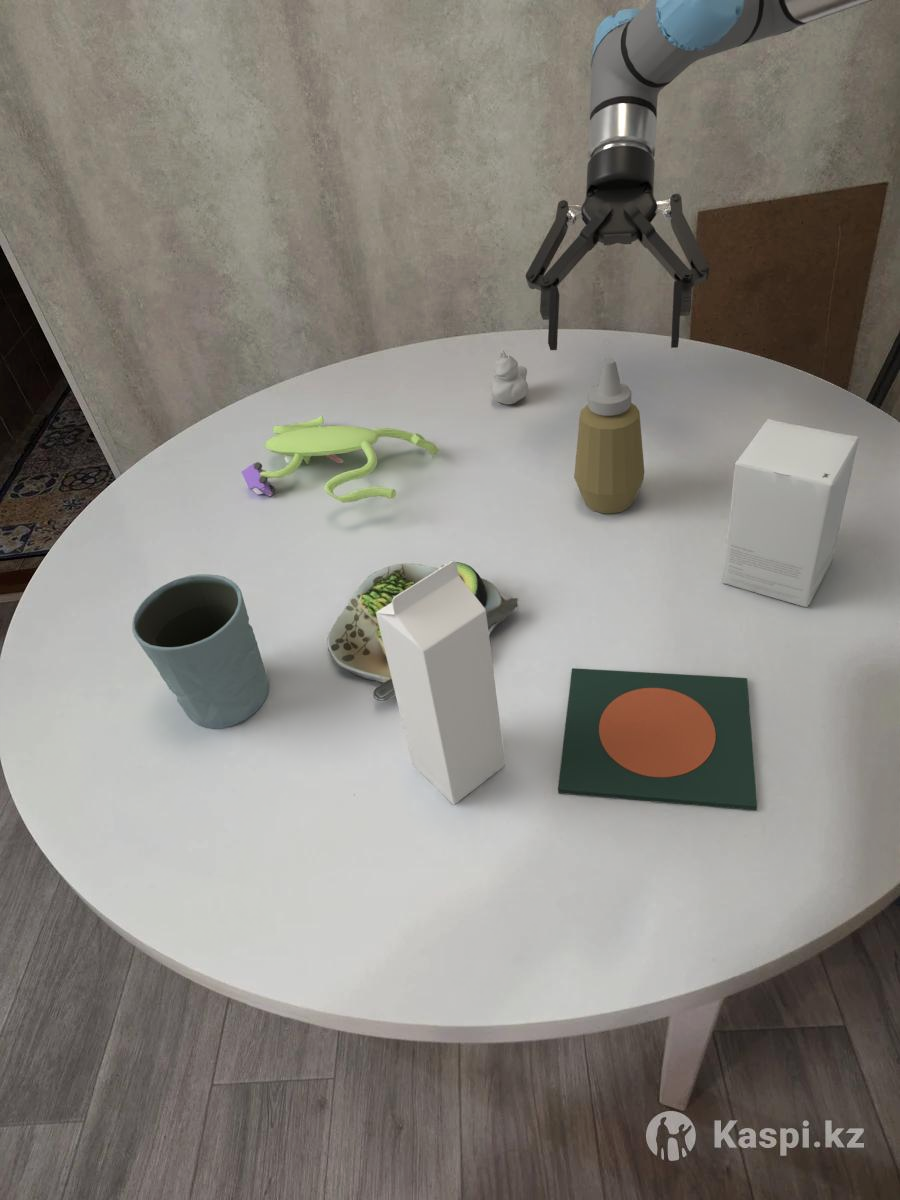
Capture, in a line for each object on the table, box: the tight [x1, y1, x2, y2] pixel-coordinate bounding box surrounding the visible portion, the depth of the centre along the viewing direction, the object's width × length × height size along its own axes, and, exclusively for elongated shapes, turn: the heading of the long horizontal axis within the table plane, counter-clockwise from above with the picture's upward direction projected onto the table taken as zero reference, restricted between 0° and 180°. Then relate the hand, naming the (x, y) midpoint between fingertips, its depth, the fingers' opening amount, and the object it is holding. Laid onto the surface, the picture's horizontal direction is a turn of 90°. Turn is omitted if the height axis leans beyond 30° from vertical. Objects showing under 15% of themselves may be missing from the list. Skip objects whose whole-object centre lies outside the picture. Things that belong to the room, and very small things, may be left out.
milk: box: [376, 560, 506, 805], centre depth 69 cm, size 6×6×22 cm
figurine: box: [241, 414, 439, 504], centre depth 112 cm, size 18×27×6 cm
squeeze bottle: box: [573, 357, 645, 514], centre depth 97 cm, size 8×8×18 cm
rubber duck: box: [490, 349, 529, 405], centre depth 121 cm, size 5×7×8 cm
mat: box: [557, 667, 758, 811], centre depth 76 cm, size 16×14×1 cm
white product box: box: [722, 418, 860, 608], centre depth 85 cm, size 9×9×15 cm
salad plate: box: [326, 561, 518, 702], centre depth 88 cm, size 19×18×5 cm
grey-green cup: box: [131, 573, 270, 730], centre depth 82 cm, size 10×10×12 cm
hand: (612, 345), depth 98 cm, fingers open, 13 cm apart
